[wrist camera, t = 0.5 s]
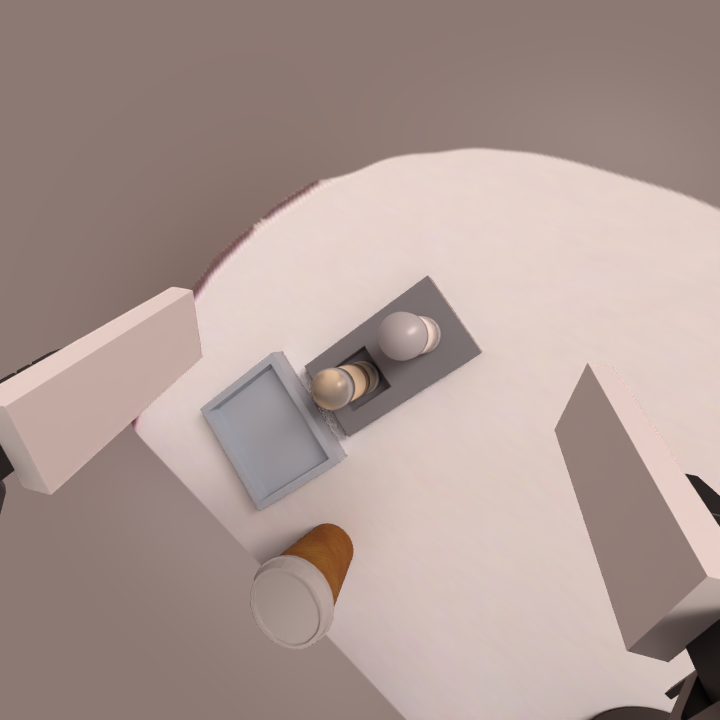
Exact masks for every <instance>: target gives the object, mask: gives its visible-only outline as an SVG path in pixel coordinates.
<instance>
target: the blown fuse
mask: <svg viewBox="0 0 720 720" xmlns="http://www.w3.org/2000/svg"><path fill="white" fill-rule="evenodd" d="M380 381H381V373H380V370H379V368H378V367H377V366H376V365H375V364H374V363H373V362H371V361H367V360H363V361H358V362H355V363H353V364H347V365H343V366H341V367H332V368H328V369H324V370H321V371H320V372H318V373H317V374H316V375H315V377H314V378H313V380H312V383H311V394H312V397H313V399H314V401H315V402H316V403H317V404H318V405H319V406H320V407H321V408H323V409H326V410H337V409H339V408H341V407H343V406H345V405H347V404H348V403H349V402H351V401H353V400H355V399H358V398H360V397H362V396H363V395H365V394H368V393H370V392H372V391H374V390H375V389H376V388H377V387H378V386H379V384H380Z"/></svg>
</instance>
